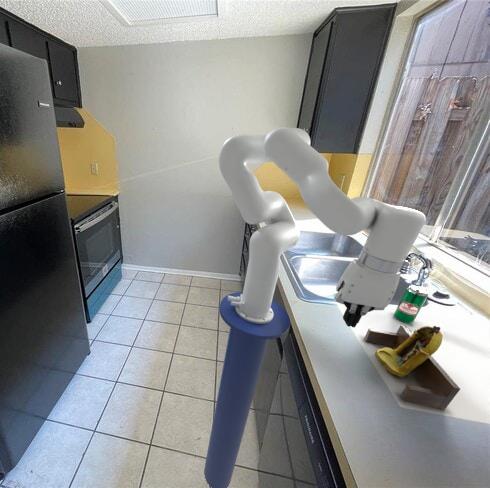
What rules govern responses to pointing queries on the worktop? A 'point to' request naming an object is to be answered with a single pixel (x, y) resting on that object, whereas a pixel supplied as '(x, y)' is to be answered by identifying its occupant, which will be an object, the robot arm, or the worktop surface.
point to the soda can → (410, 304)
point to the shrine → (410, 351)
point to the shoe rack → (420, 373)
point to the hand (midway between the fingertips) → (348, 323)
